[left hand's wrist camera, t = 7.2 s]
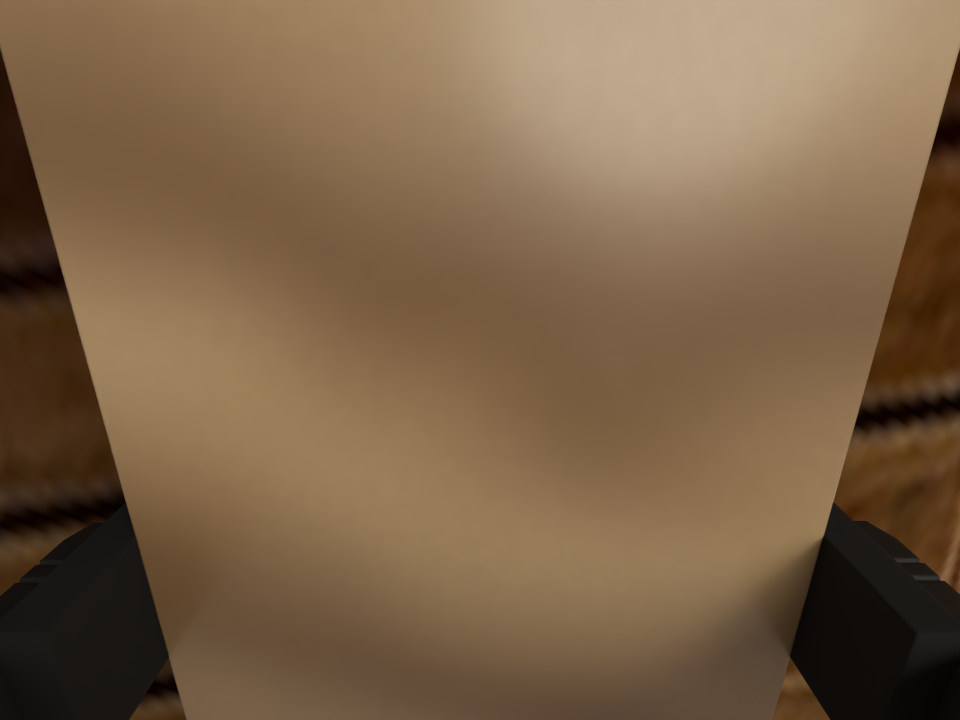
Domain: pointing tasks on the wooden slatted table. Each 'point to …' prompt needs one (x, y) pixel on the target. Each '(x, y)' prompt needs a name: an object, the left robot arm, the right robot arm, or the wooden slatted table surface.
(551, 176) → the cabinet
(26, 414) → the wooden slatted table surface
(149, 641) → the left robot arm
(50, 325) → the wooden slatted table surface
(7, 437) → the wooden slatted table surface
